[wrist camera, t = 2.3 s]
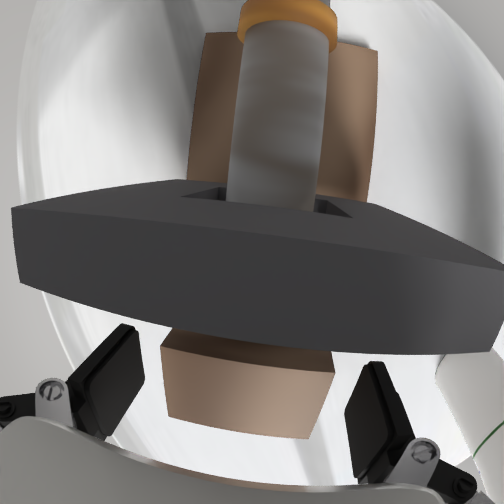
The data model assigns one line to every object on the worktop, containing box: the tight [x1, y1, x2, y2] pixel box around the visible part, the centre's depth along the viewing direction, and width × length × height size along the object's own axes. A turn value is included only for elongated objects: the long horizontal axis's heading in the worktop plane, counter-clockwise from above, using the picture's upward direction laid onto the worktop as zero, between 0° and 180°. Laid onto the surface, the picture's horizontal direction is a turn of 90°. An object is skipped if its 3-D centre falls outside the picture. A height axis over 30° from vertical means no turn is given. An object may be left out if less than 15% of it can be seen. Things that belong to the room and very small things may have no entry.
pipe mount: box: [160, 0, 378, 439], centre depth 13 cm, size 12×20×12 cm, turn 174°
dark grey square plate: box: [11, 179, 504, 355], centre depth 10 cm, size 12×2×12 cm, turn 84°
